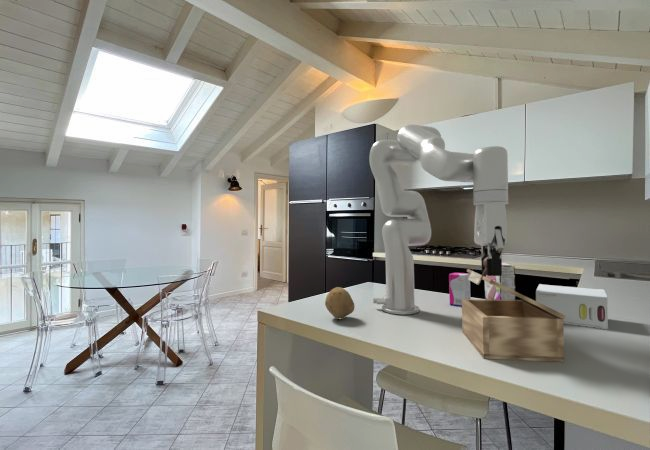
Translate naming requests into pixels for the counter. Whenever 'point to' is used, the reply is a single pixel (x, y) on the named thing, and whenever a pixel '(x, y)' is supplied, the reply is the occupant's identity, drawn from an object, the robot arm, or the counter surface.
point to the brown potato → (339, 303)
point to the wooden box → (513, 330)
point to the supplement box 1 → (459, 288)
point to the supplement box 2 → (576, 304)
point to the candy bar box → (505, 280)
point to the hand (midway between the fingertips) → (491, 273)
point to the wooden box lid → (477, 278)
